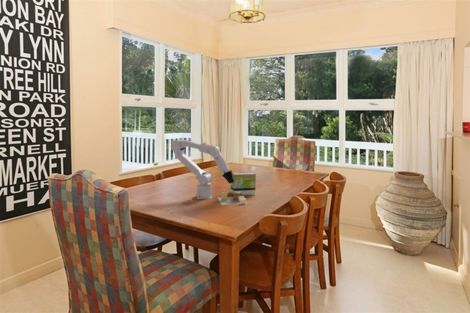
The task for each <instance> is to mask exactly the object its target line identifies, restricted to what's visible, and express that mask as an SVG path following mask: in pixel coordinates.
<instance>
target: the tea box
mask: <svg viewBox="0 0 470 313" xmlns="http://www.w3.org/2000/svg"><path fill="white" fill-rule="evenodd" d="M232 177H233V180H234V182H232V183H230V190H229V191H230V192H229V193H231V192H232V191H240V192H241V194H239V196H248V195H249V196H255V195H256V178H257V175H256V173H254V172H253V171H238V172H237V171H232Z"/></svg>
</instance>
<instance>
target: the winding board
mask: <svg viewBox="0 0 470 313" xmlns="http://www.w3.org/2000/svg"><path fill="white" fill-rule="evenodd" d="M230 194H232V196H227V200H226V201H222V196H221V197H219V196H218V197H217V200H218V201H219V203H220V205H221V206H226V205H227V206H228V205H229V206H230V205H249V203H248V202H247V198H245V195H239V194H241V192H240V191H232V192H230Z"/></svg>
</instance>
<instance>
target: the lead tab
mask: <svg viewBox="0 0 470 313" xmlns="http://www.w3.org/2000/svg"><path fill="white" fill-rule="evenodd" d="M221 197H222V201H226V200H227V197H228V191H221Z"/></svg>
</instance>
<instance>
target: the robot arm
mask: <svg viewBox="0 0 470 313" xmlns="http://www.w3.org/2000/svg"><path fill="white" fill-rule="evenodd" d="M170 145H171V146H170V148H171V150H172V151H173V153H174V156H175V158H176V159H177V160H178V161H179V162H180V163H181V164H182V165H183V166H184V167H185V168H187V169H188V170H189V171H190V172H191V173H192V174H193V175H195V179H196V180H197V181H198V183H199V184H196V193H195V195H196V199H197V200H200V199H203V200H204V199H213V196H212V183H211V182H212V181H213V175H212V174H211V173H209V172H207V171H206V170H203V169H202V168H201V167H200V166H198V165H197V164H196V163H195V162H194V161H193V160H192V159H191V158H189V157H188V156H187V155H186V154H185V149H186V148H188V147H189V148H192V149H196V150H198V151H199V152H200V153H203V154H207V155H210V156H211V157H212V159H213V160H214V162H215V164H216V166H217V167H218V169H219V172H220V173H221V174H222V173H223V174H222V175H221V176H222V177H223V178H224V179H225V180H226V182H227V183H228V184H231V183H232V182H234V180H233V177H232V172H233V171H232V170H231V169H232V167H231V166H229V165H228V164H227V162H226V160H225V158H224V156H223V154H222V153H221V148H220V147H219V146H217V145H213V144H207V143H206V142H201V143H197V142H195V141H191V140H187V139H183V138H182V139H181V138H180V139H174V140H172V142H171V144H170ZM229 170H230V171H229Z"/></svg>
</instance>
